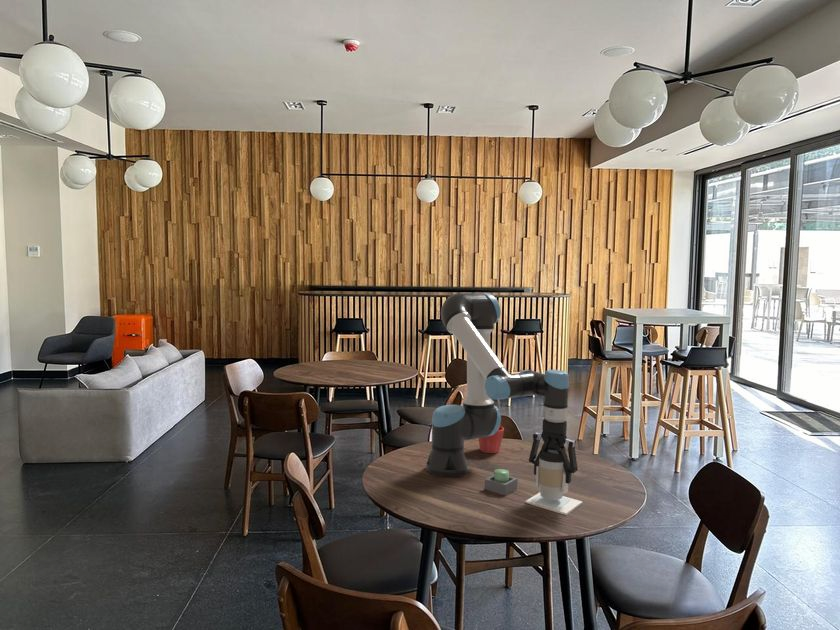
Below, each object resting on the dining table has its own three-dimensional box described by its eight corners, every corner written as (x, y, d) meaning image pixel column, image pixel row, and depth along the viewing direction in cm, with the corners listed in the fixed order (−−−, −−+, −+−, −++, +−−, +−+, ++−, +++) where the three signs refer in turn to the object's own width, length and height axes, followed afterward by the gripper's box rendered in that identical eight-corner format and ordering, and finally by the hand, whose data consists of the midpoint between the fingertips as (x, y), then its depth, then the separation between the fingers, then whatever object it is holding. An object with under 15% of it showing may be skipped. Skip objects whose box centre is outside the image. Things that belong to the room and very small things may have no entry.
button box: (484, 489, 202) (484, 479, 202) (496, 482, 208) (497, 472, 208) (505, 495, 197) (505, 485, 197) (517, 488, 203) (517, 478, 203)
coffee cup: (566, 502, 187) (568, 455, 185) (536, 499, 189) (538, 453, 187) (565, 491, 196) (567, 447, 194) (537, 489, 197) (539, 444, 196)
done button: (490, 483, 202) (491, 471, 202) (498, 479, 206) (499, 468, 205) (503, 487, 199) (504, 475, 198) (511, 482, 203) (511, 471, 202)
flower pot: (488, 444, 251) (488, 422, 250) (508, 451, 243) (509, 427, 242) (470, 449, 244) (471, 426, 243) (491, 456, 236) (492, 432, 235)
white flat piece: (525, 502, 191) (525, 500, 191) (542, 492, 201) (542, 490, 200) (566, 515, 183) (566, 513, 182) (582, 503, 192) (582, 501, 192)
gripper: (519, 415, 193) (516, 483, 195) (581, 428, 180) (578, 501, 182) (530, 411, 199) (527, 477, 201) (591, 423, 186) (588, 494, 188)
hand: (551, 488), depth 192 cm, fingers closed on coffee cup, 8 cm apart
